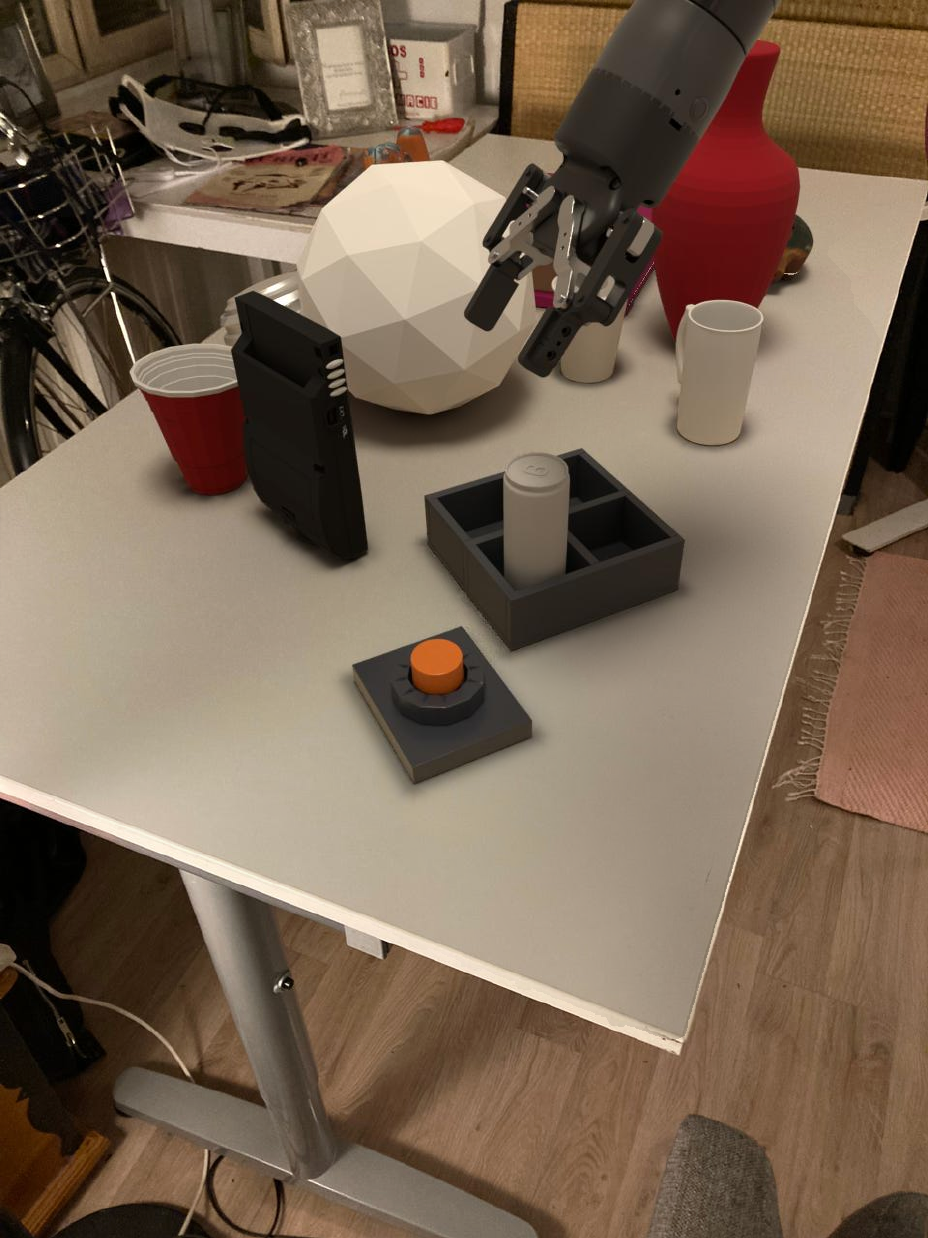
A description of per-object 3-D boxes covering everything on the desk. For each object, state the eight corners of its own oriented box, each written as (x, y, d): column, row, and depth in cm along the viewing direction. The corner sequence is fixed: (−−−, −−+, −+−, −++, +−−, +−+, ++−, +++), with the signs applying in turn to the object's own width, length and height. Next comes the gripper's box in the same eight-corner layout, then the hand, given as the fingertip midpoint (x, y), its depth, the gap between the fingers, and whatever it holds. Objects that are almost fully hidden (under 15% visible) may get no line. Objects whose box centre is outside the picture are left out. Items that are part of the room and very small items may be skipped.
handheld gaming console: (374, 552, 84) (348, 334, 71) (332, 575, 82) (297, 354, 69) (295, 495, 91) (258, 287, 78) (254, 515, 89) (209, 304, 76)
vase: (797, 345, 110) (860, 43, 91) (710, 387, 104) (758, 72, 84) (698, 304, 119) (735, 21, 99) (612, 341, 113) (633, 46, 93)
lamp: (533, 427, 87) (440, 142, 77) (232, 491, 104) (121, 263, 93) (594, 343, 105) (526, 102, 94) (329, 409, 121) (245, 209, 111)
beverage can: (551, 622, 75) (556, 493, 67) (494, 607, 77) (492, 479, 69) (573, 586, 79) (579, 458, 71) (517, 571, 80) (518, 445, 72)
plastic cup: (298, 465, 95) (279, 351, 87) (221, 522, 88) (193, 404, 80) (216, 437, 99) (190, 325, 91) (137, 489, 93) (102, 373, 85)
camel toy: (408, 223, 143) (398, 93, 132) (491, 234, 139) (489, 100, 127) (323, 290, 126) (304, 147, 115) (415, 304, 122) (405, 157, 110)
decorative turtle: (799, 250, 131) (815, 190, 125) (809, 305, 120) (827, 242, 115) (725, 245, 132) (738, 185, 126) (729, 299, 121) (743, 236, 116)
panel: (532, 736, 68) (532, 702, 65) (414, 784, 65) (410, 749, 63) (462, 642, 75) (461, 607, 73) (354, 680, 72) (349, 646, 70)
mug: (757, 437, 96) (779, 321, 88) (699, 454, 94) (717, 337, 86) (698, 393, 103) (713, 282, 95) (643, 407, 101) (654, 295, 93)
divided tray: (678, 589, 79) (685, 539, 76) (511, 651, 74) (511, 600, 71) (579, 495, 90) (582, 447, 86) (427, 544, 85) (423, 495, 81)
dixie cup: (573, 395, 103) (577, 305, 97) (535, 363, 109) (537, 276, 102) (640, 377, 106) (648, 288, 99) (599, 347, 112) (605, 260, 105)
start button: (472, 685, 67) (471, 663, 66) (425, 702, 66) (423, 681, 65) (450, 653, 70) (448, 632, 69) (404, 669, 69) (402, 648, 67)
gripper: (547, 49, 60) (416, 287, 65) (673, 79, 49) (504, 361, 55) (629, 118, 64) (499, 335, 70) (760, 159, 54) (596, 413, 59)
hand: (501, 346), depth 62 cm, fingers open, 8 cm apart
